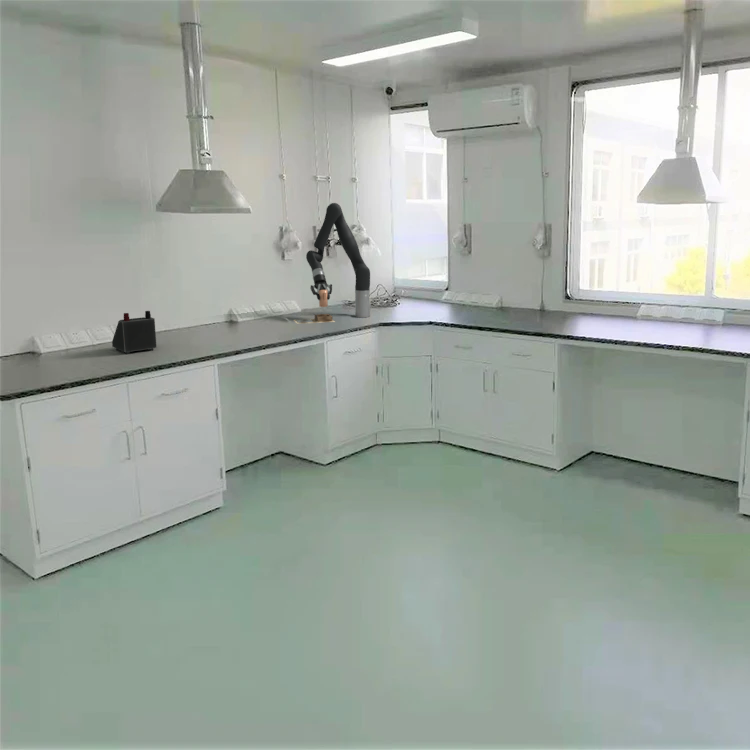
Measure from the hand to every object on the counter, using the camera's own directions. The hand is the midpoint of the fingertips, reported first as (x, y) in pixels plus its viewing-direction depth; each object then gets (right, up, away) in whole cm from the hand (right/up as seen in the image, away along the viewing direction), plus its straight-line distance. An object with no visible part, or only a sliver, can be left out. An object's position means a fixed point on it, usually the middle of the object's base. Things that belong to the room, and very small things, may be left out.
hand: (324, 299), depth 424 cm
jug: (0, -4, +2) cm, 5 cm away
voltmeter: (-90, -34, -76) cm, 122 cm away
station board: (-6, -14, +3) cm, 16 cm away
